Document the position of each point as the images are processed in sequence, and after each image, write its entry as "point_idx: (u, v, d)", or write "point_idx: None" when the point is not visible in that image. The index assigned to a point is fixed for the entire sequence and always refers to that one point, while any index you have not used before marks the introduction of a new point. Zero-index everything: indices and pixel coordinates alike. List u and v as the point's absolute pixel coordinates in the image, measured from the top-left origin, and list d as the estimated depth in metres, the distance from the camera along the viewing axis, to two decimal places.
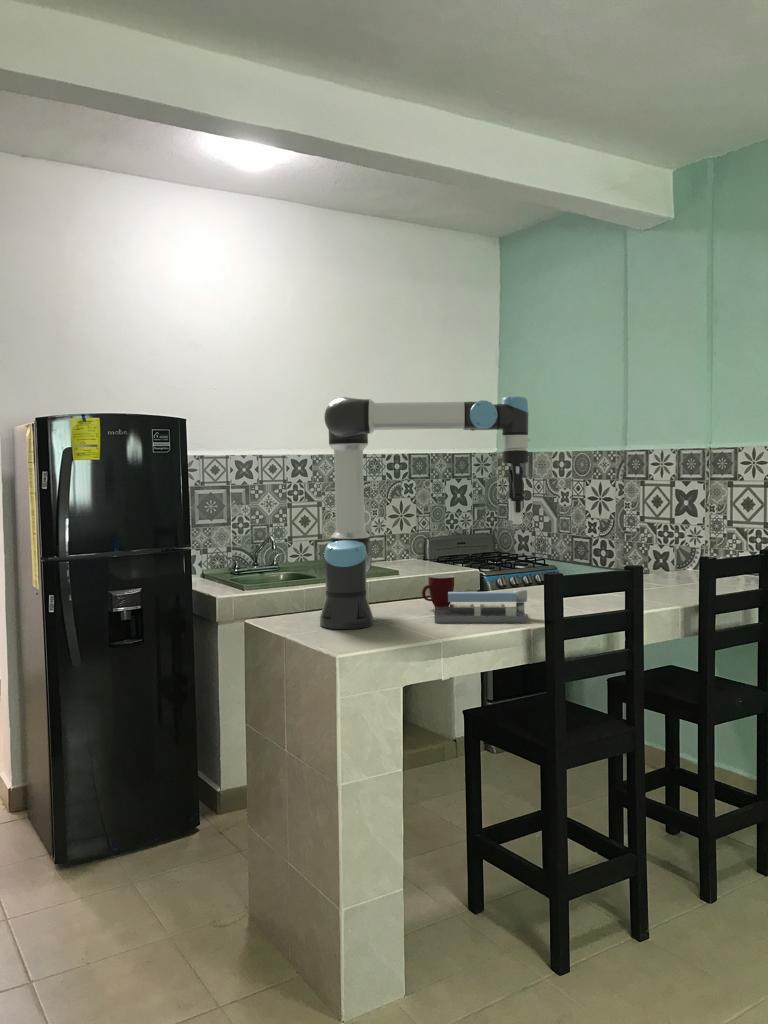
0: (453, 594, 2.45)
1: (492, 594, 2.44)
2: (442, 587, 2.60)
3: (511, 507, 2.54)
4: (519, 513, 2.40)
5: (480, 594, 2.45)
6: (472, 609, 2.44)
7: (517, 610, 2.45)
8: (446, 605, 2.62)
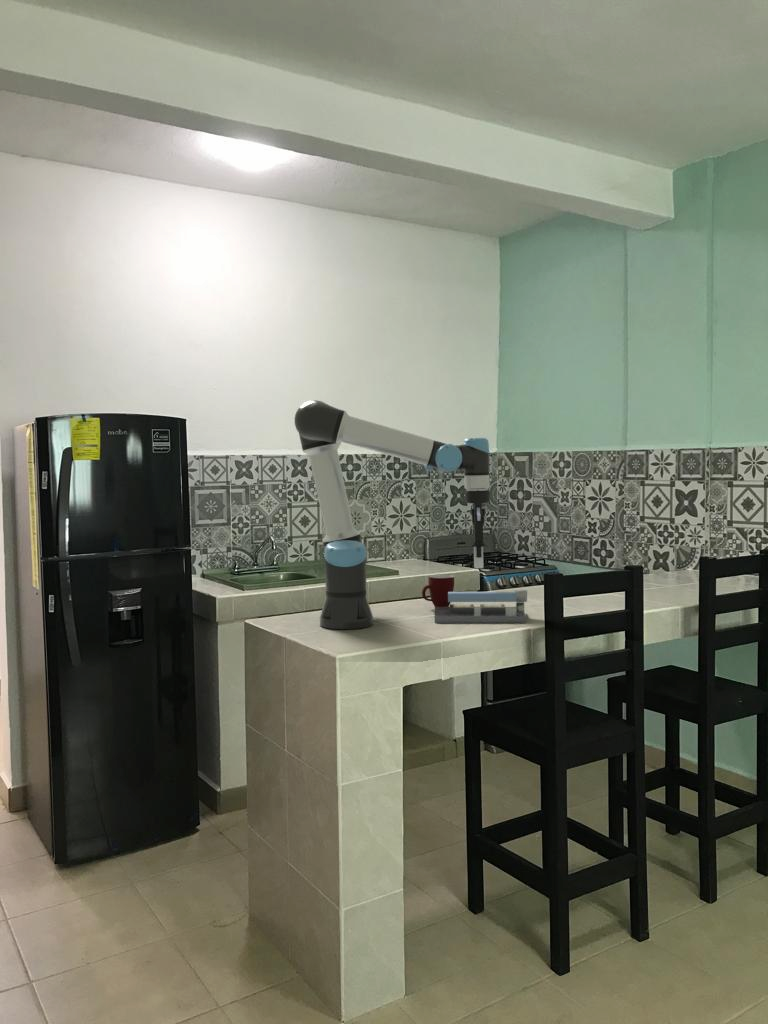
0: (453, 594, 2.45)
1: (492, 594, 2.44)
2: (442, 587, 2.60)
3: None
4: (480, 558, 2.52)
5: (480, 594, 2.45)
6: (472, 609, 2.44)
7: (517, 610, 2.45)
8: (446, 605, 2.62)
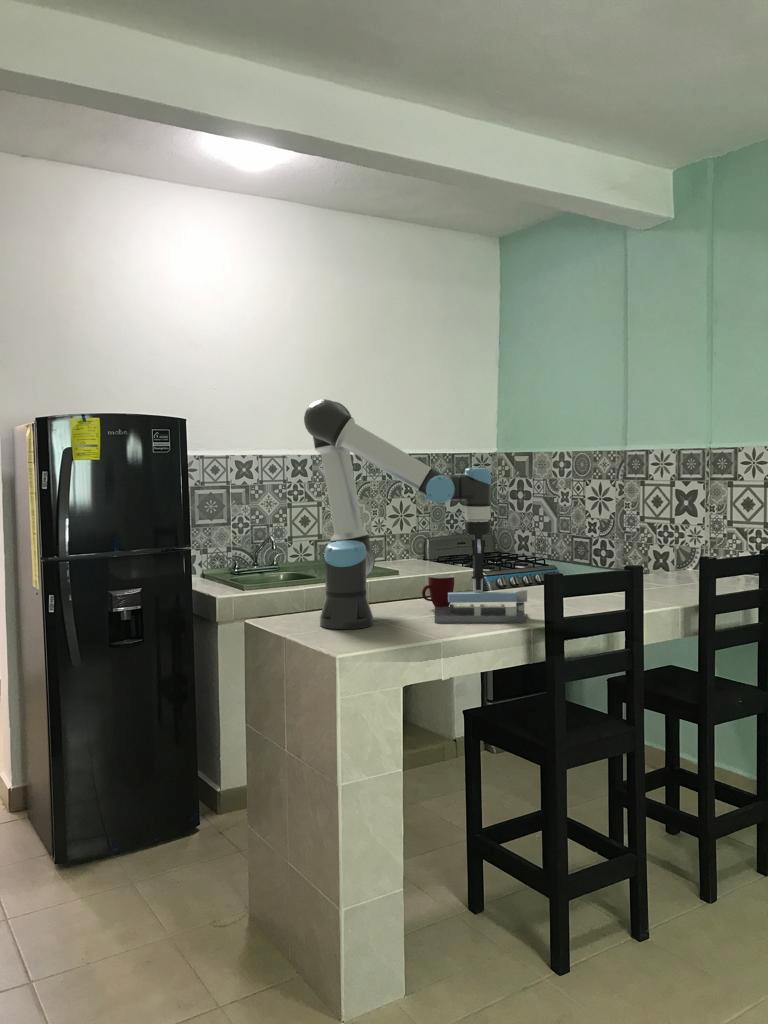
0: (454, 595, 2.44)
1: (492, 594, 2.44)
2: (442, 587, 2.60)
3: None
4: (479, 590, 2.47)
5: (481, 594, 2.44)
6: (472, 609, 2.44)
7: (517, 610, 2.45)
8: (446, 605, 2.62)
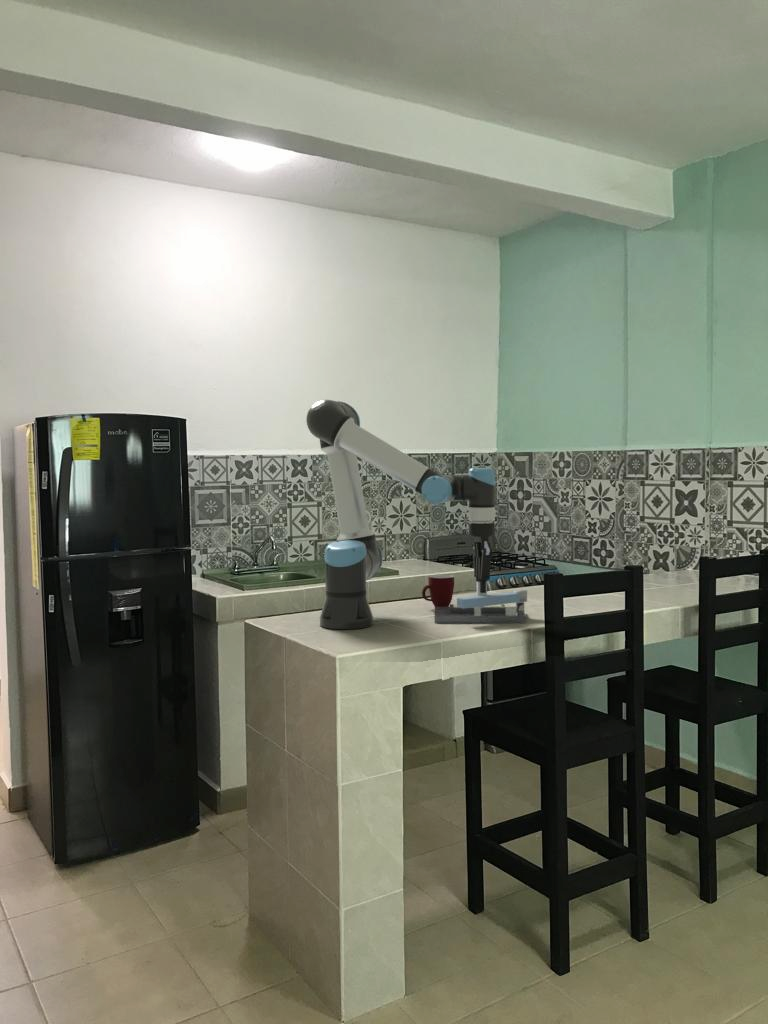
0: (467, 600, 2.35)
1: (500, 596, 2.40)
2: (442, 587, 2.60)
3: None
4: (484, 593, 2.41)
5: (490, 597, 2.39)
6: (472, 609, 2.44)
7: (517, 610, 2.45)
8: (446, 605, 2.62)
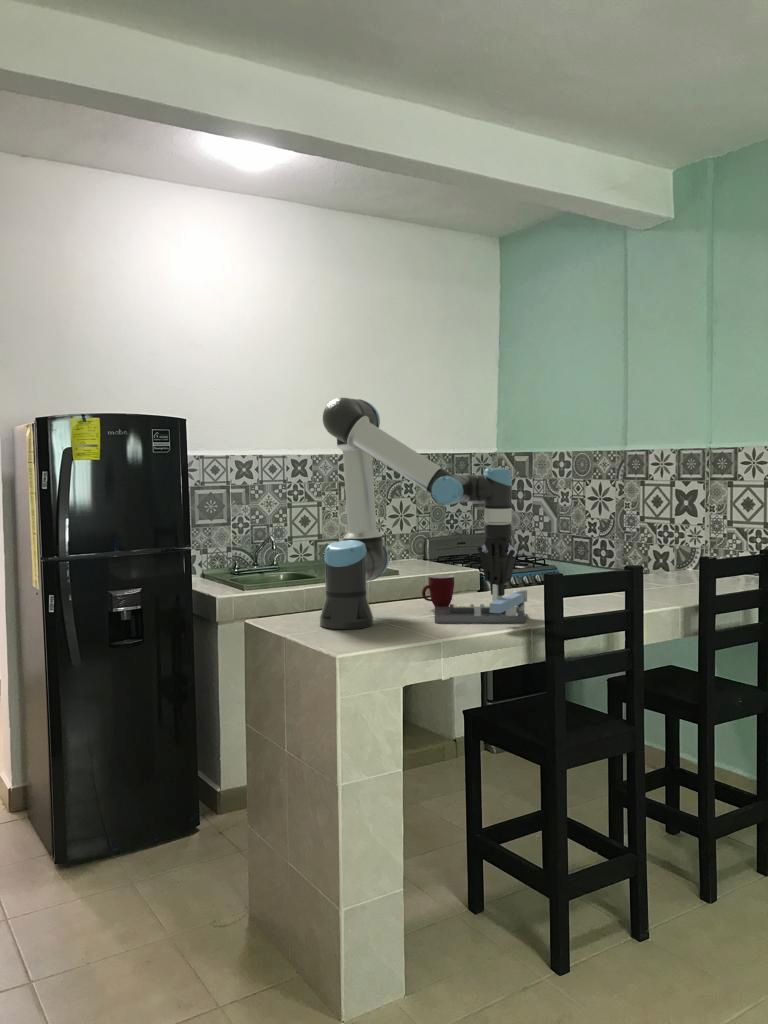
0: (502, 604, 2.27)
1: (515, 598, 2.37)
2: (442, 587, 2.60)
3: None
4: (500, 596, 2.36)
5: (511, 600, 2.34)
6: (472, 609, 2.44)
7: (517, 610, 2.45)
8: (446, 605, 2.62)
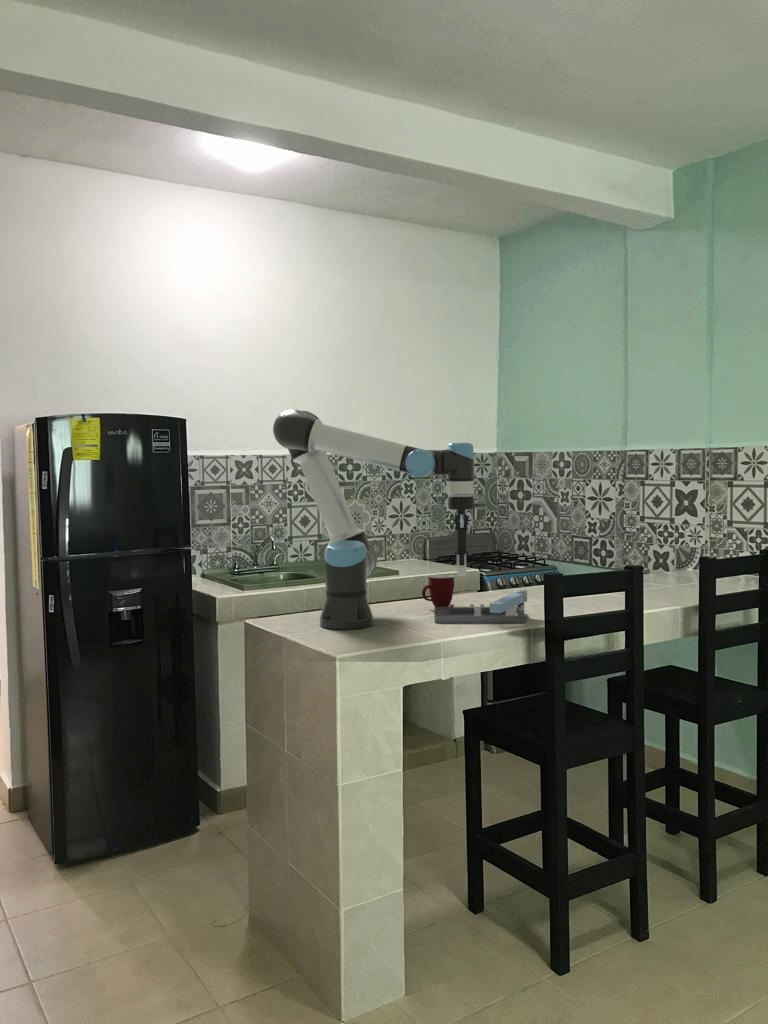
0: (502, 604, 2.27)
1: (515, 598, 2.37)
2: (442, 587, 2.60)
3: None
4: (463, 566, 2.45)
5: (511, 600, 2.34)
6: (472, 609, 2.44)
7: (517, 610, 2.45)
8: (446, 605, 2.62)
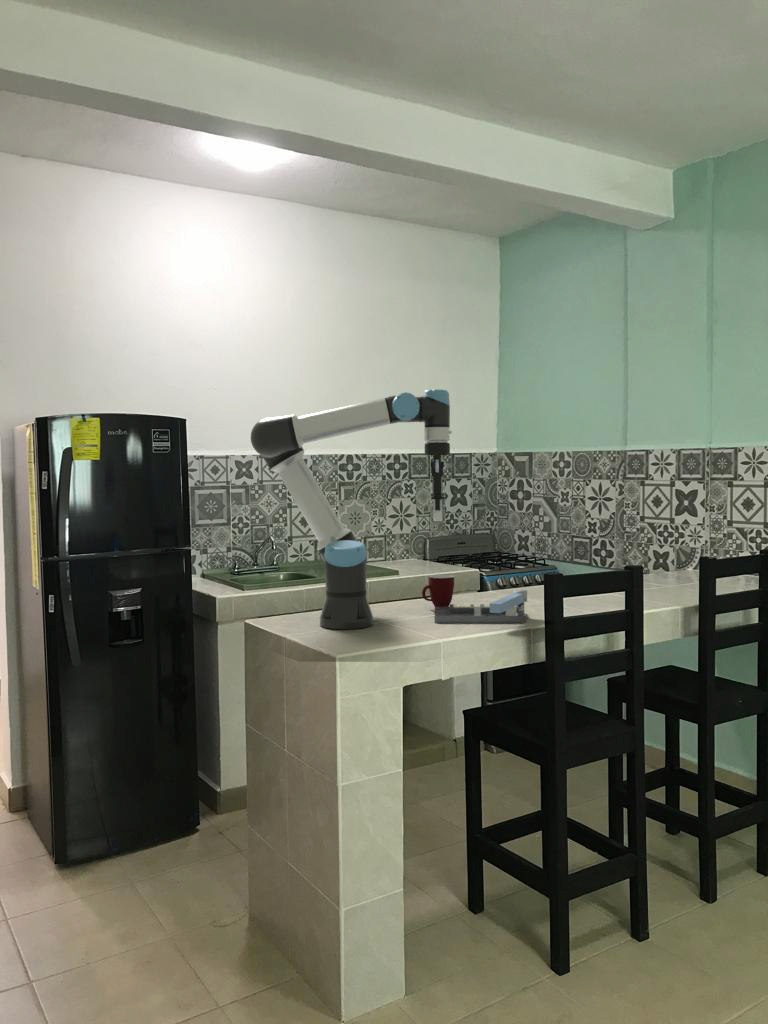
0: (502, 604, 2.27)
1: (515, 598, 2.37)
2: (442, 587, 2.60)
3: None
4: (439, 511, 2.50)
5: (511, 600, 2.34)
6: (472, 609, 2.44)
7: (517, 610, 2.45)
8: (446, 605, 2.62)
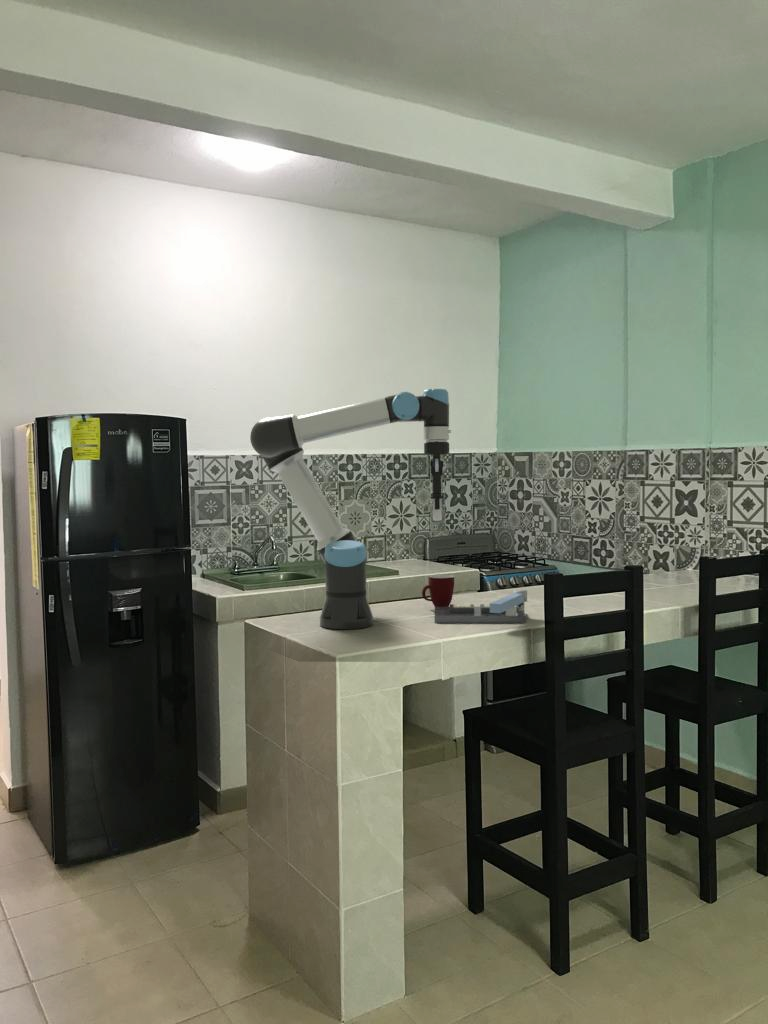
0: (502, 604, 2.27)
1: (515, 598, 2.37)
2: (442, 587, 2.60)
3: None
4: (438, 510, 2.51)
5: (511, 600, 2.34)
6: (472, 609, 2.44)
7: (517, 610, 2.45)
8: (446, 605, 2.62)
